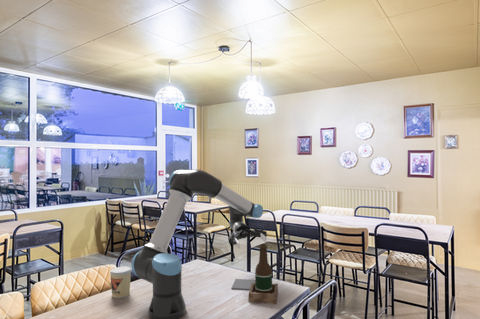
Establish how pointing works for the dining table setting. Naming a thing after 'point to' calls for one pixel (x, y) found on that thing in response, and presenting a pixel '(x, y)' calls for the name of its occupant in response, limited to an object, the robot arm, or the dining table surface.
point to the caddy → (263, 295)
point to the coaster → (242, 284)
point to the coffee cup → (120, 281)
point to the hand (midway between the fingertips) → (252, 242)
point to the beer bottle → (263, 273)
